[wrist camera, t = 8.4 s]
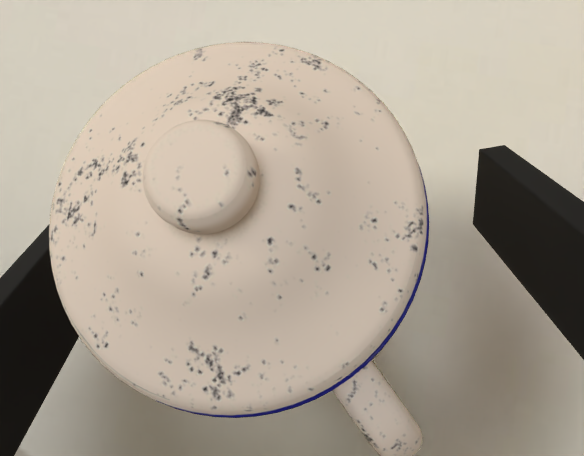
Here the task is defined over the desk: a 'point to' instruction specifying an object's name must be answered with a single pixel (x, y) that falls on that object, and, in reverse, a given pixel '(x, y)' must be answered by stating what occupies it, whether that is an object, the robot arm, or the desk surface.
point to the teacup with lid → (244, 237)
